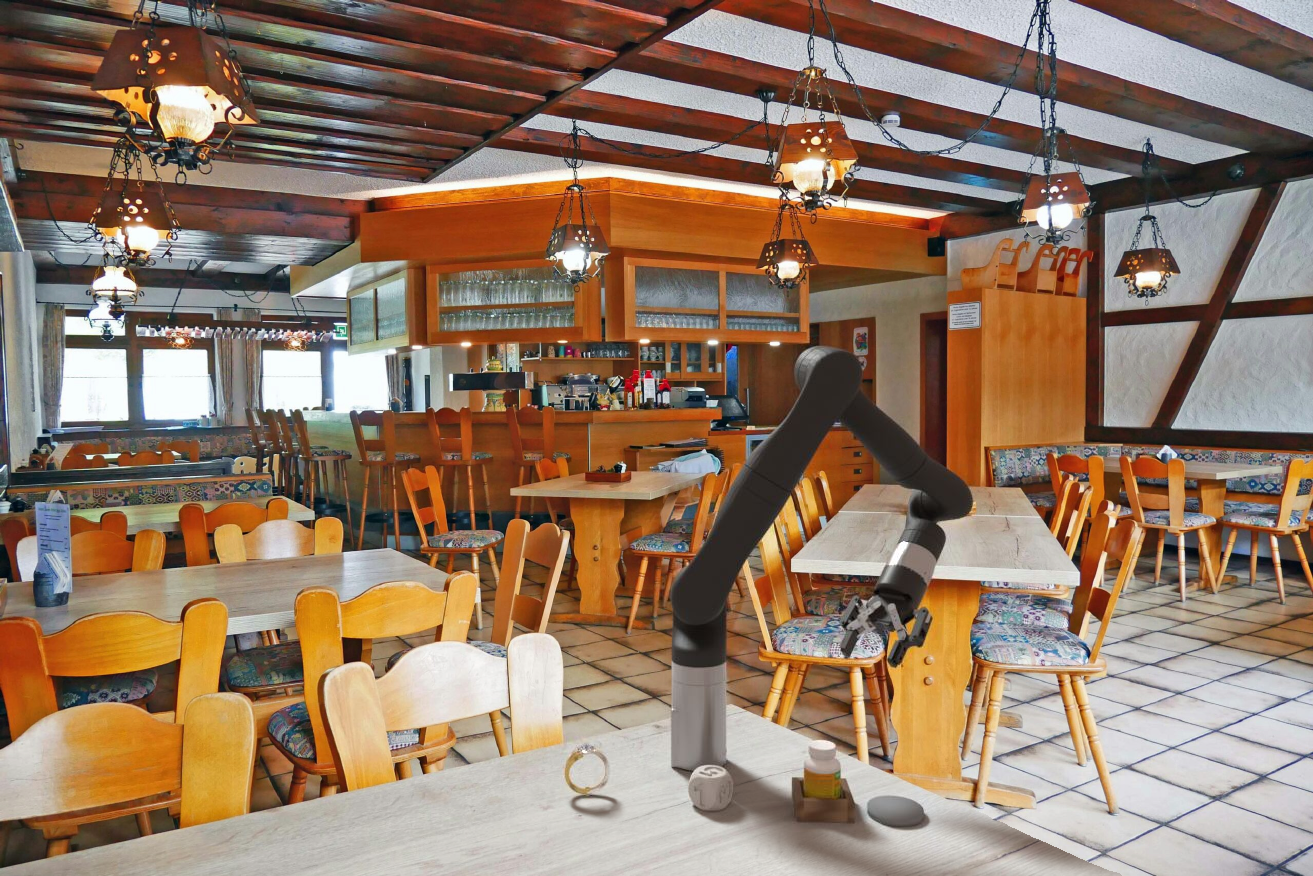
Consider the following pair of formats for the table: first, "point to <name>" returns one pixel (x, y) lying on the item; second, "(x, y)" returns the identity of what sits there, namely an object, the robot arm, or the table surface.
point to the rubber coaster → (895, 811)
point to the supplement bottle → (822, 771)
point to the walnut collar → (823, 805)
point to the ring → (582, 750)
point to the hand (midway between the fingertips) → (867, 659)
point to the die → (710, 787)
